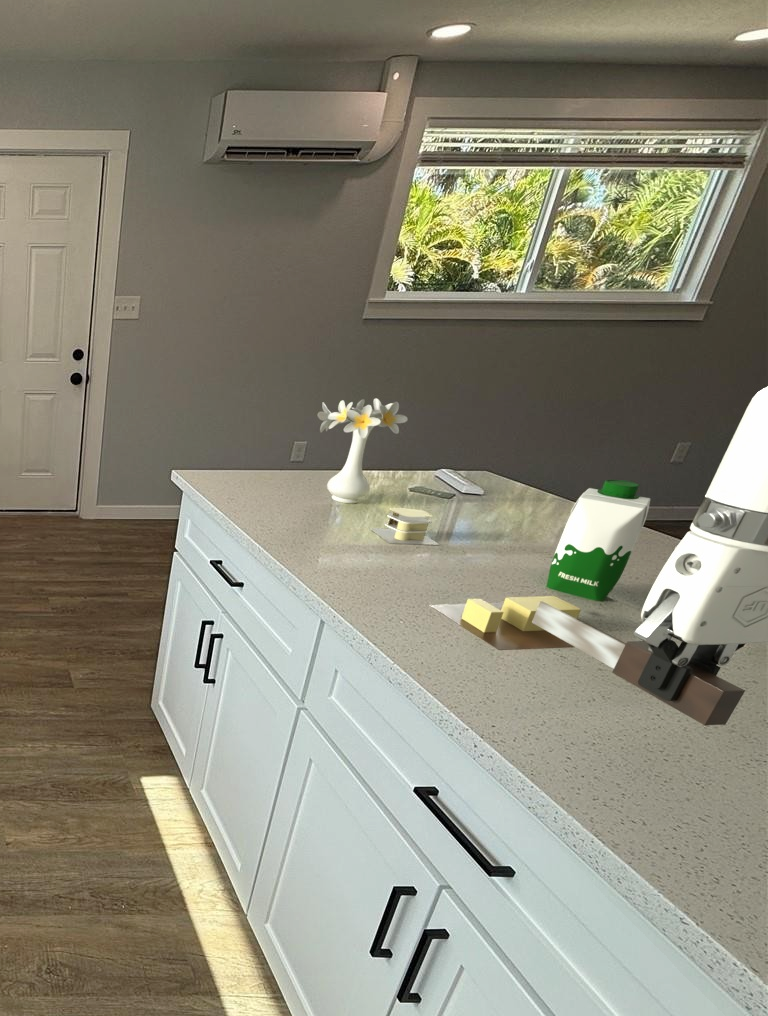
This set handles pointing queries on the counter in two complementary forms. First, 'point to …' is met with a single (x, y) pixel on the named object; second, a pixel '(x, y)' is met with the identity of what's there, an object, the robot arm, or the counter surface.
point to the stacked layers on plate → (406, 527)
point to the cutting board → (506, 631)
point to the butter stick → (532, 610)
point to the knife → (696, 699)
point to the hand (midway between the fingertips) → (669, 691)
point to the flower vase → (357, 443)
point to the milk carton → (598, 540)
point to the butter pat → (482, 615)
